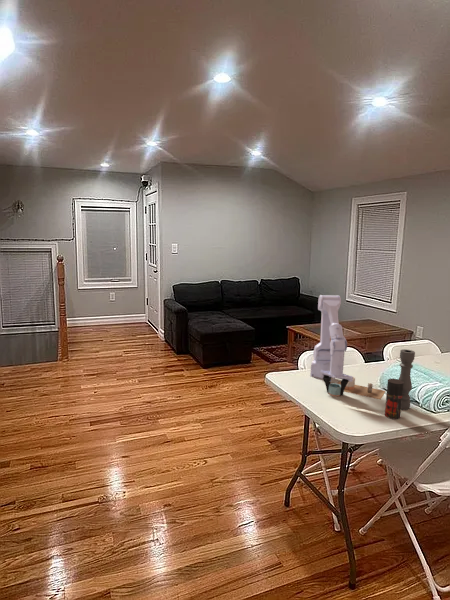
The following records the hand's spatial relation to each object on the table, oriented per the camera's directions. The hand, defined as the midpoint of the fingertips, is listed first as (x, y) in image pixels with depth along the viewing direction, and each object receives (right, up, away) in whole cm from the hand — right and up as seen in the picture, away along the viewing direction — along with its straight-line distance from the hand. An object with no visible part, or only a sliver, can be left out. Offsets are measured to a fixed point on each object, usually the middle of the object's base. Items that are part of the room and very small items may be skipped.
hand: (334, 393), depth 187 cm
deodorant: (+19, -5, -19) cm, 27 cm away
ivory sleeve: (+8, +1, +8) cm, 11 cm away
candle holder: (+26, -4, -10) cm, 28 cm away
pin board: (+13, -1, +5) cm, 14 cm away
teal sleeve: (0, -1, 0) cm, 1 cm away
